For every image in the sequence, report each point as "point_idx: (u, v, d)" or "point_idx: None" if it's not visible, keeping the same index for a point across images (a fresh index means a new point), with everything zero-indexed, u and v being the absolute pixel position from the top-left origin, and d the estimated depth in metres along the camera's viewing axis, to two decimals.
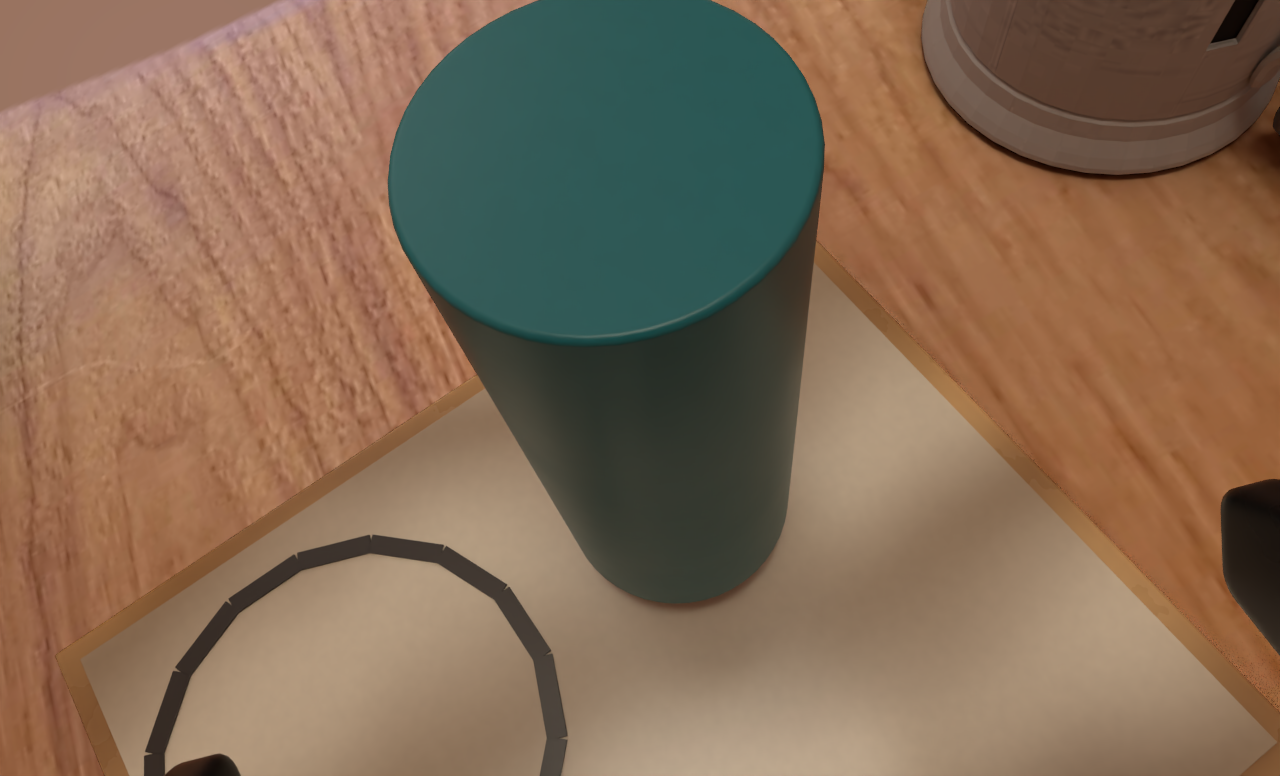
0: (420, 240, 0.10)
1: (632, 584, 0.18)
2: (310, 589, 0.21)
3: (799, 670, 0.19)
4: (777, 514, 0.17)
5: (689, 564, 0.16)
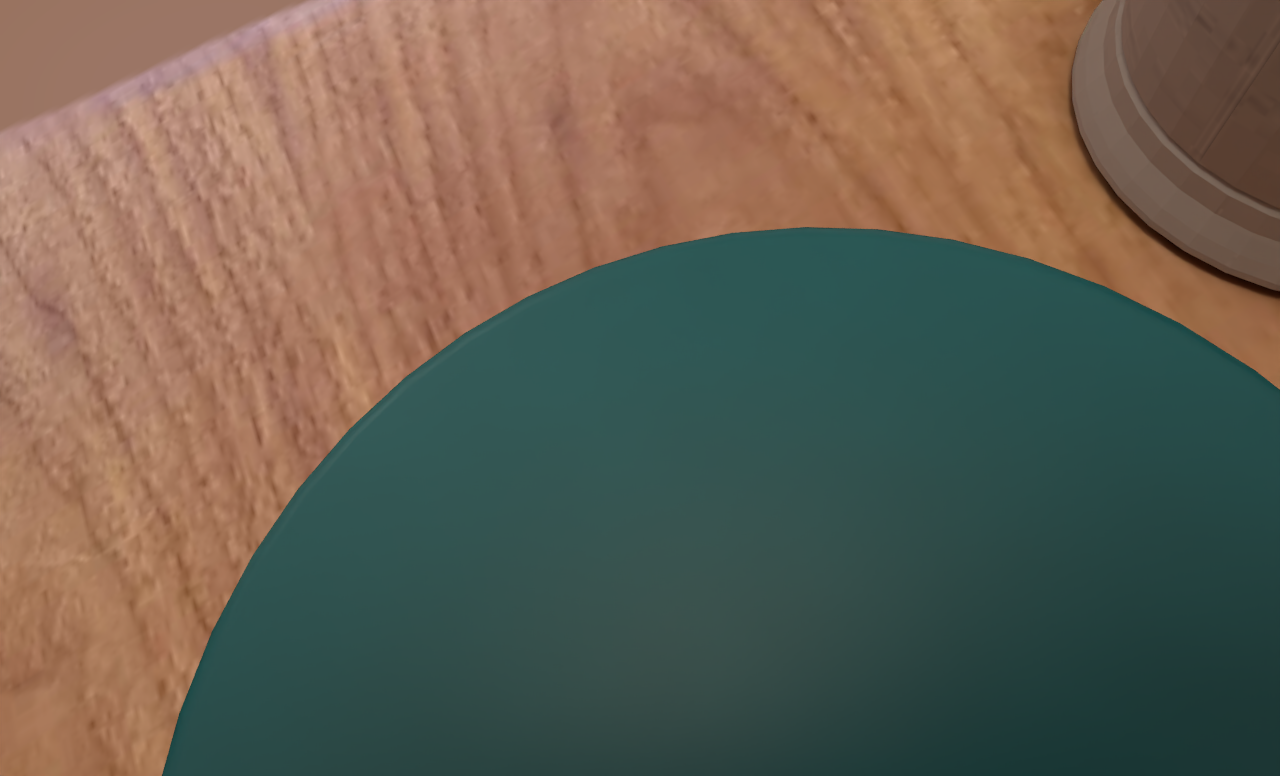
0: None
1: None
2: None
3: None
4: None
5: None
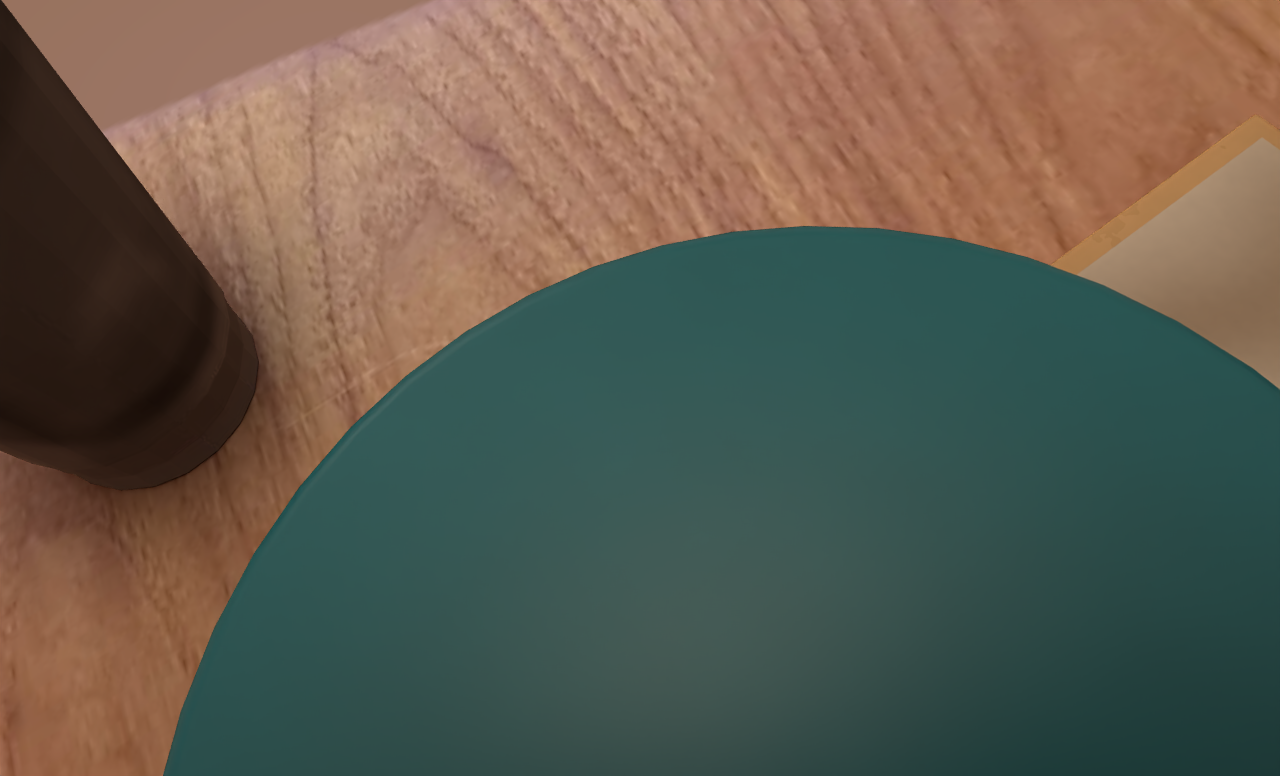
0: None
1: None
2: None
3: None
4: None
5: None
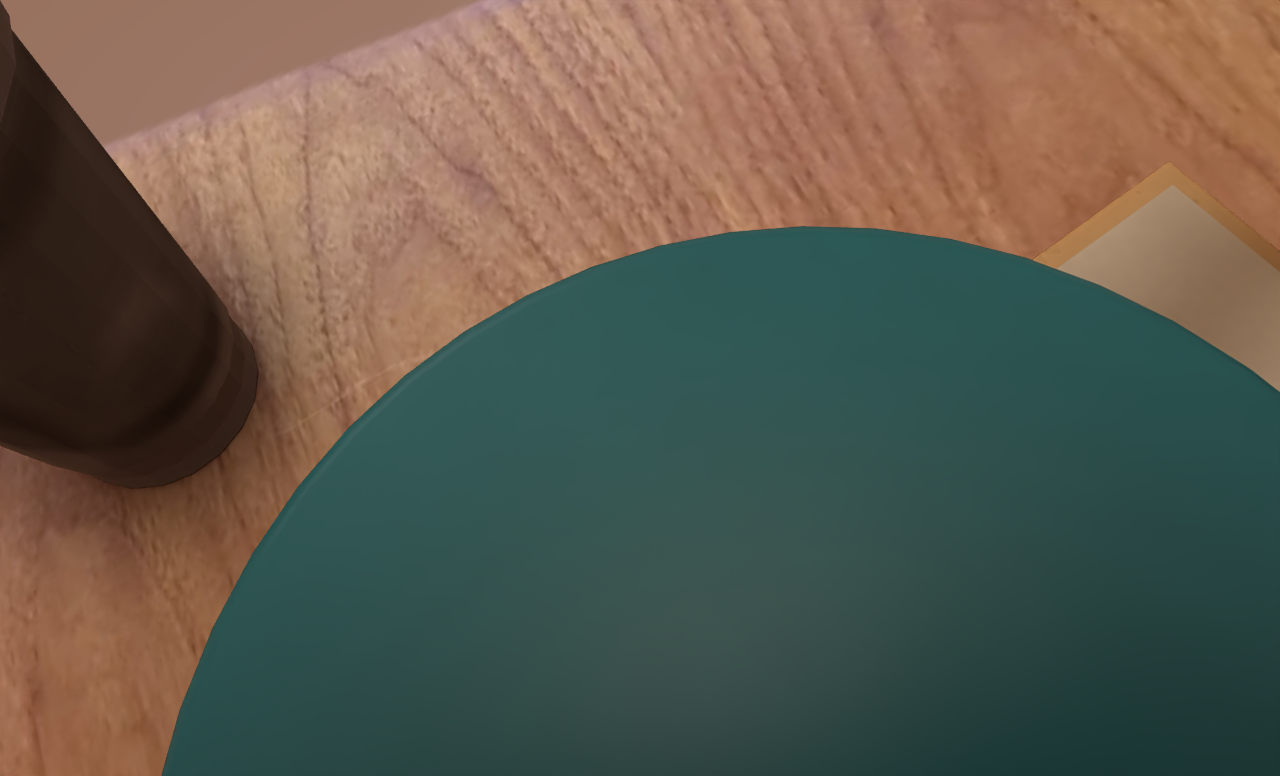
0: None
1: None
2: None
3: None
4: None
5: None
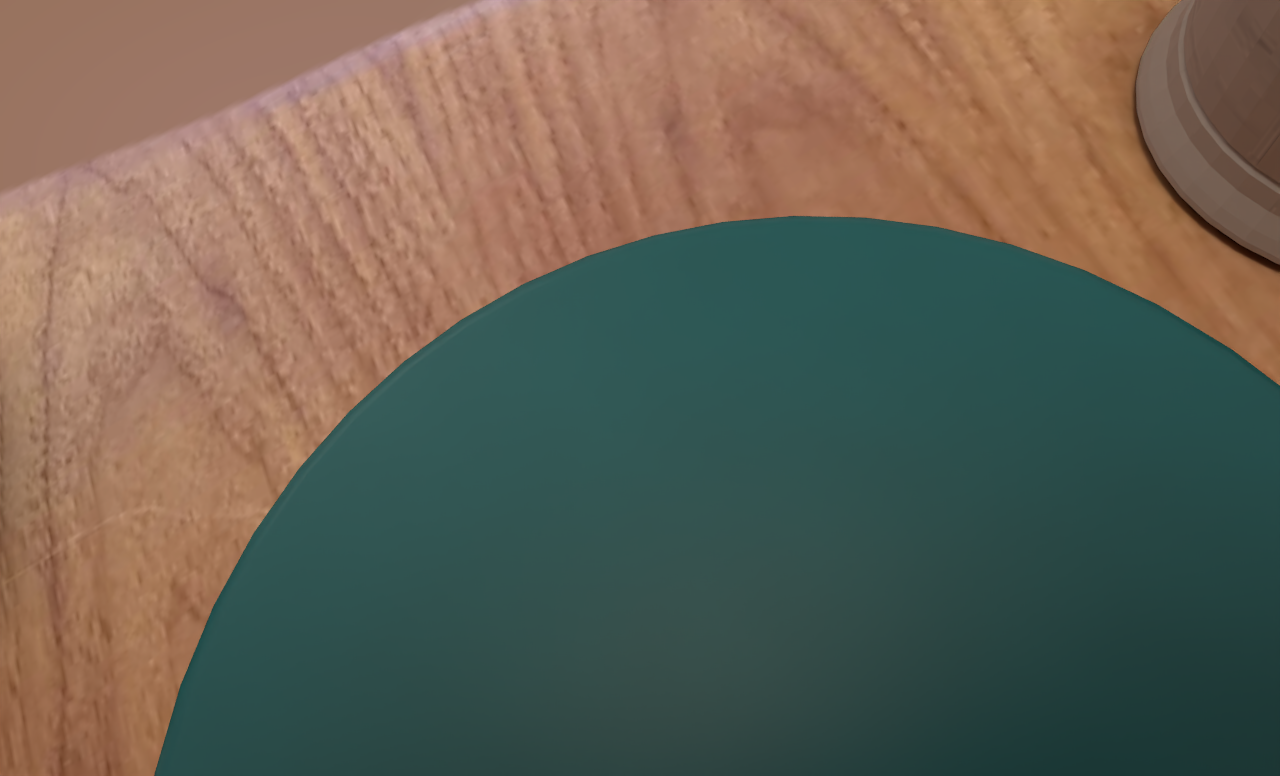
0: None
1: None
2: None
3: None
4: None
5: None
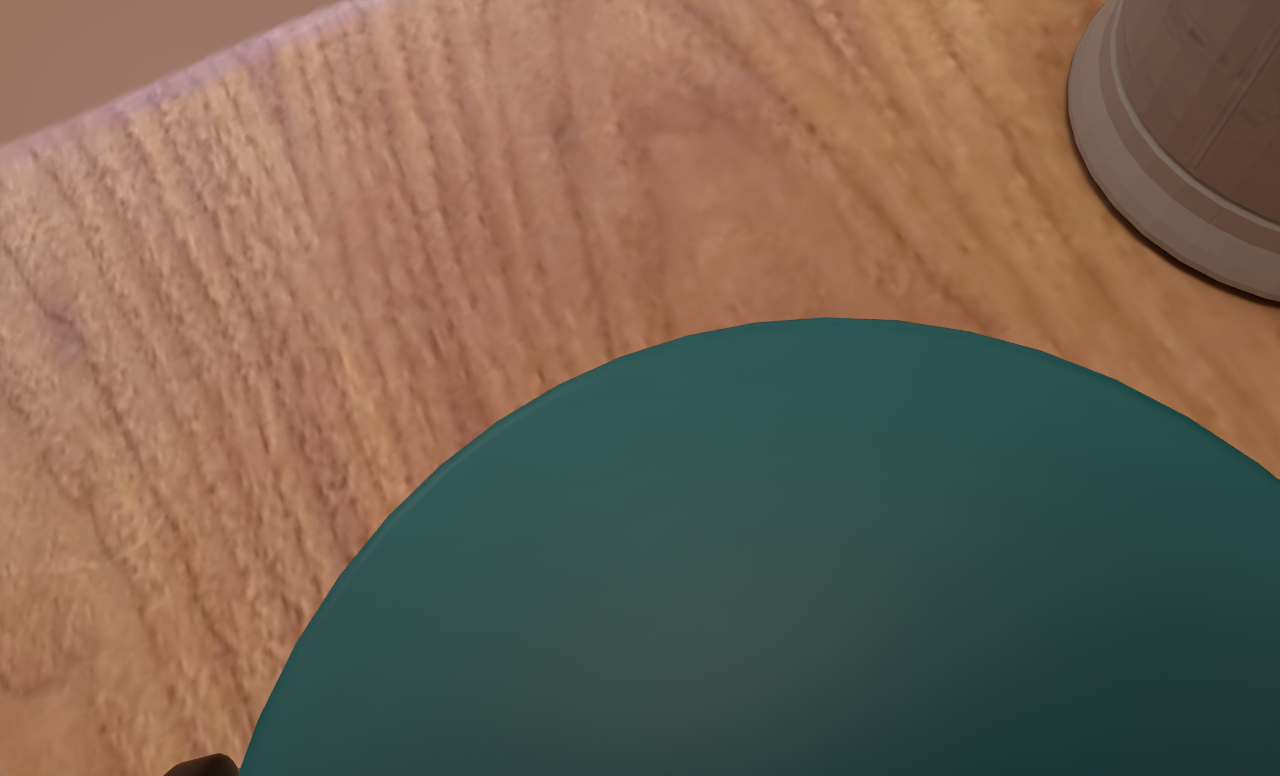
0: None
1: None
2: None
3: None
4: None
5: None
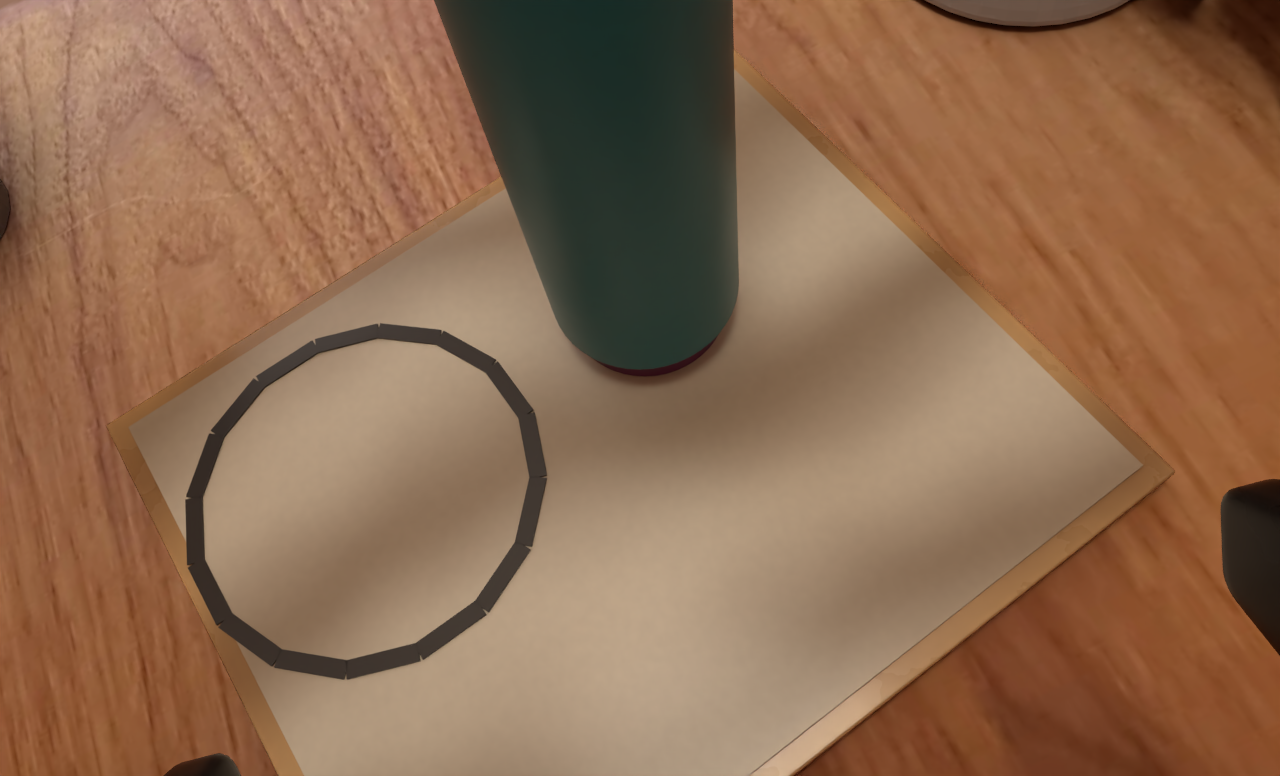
0: None
1: (603, 344, 0.21)
2: (326, 368, 0.24)
3: (744, 420, 0.22)
4: (724, 275, 0.20)
5: (648, 306, 0.19)
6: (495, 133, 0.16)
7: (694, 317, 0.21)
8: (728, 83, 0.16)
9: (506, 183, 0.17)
